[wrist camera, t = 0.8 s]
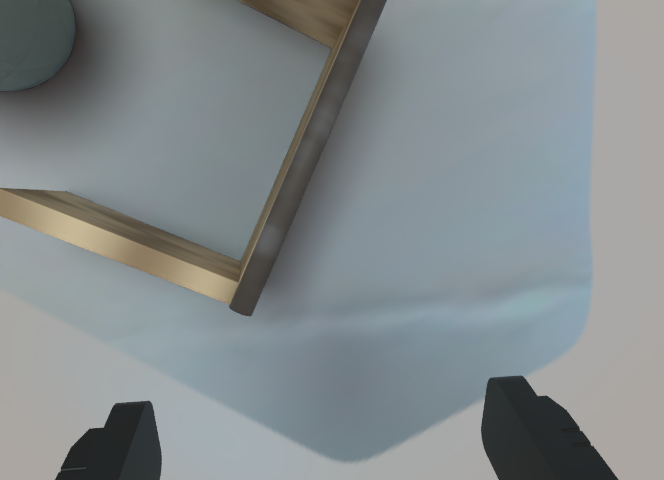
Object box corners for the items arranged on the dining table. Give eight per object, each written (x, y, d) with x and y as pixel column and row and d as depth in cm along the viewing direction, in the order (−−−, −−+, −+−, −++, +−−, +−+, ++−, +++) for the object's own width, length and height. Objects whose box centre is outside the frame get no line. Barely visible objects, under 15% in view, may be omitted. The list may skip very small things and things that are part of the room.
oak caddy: (58, 208, 32) (-26, 212, 22) (170, -55, 32) (137, -170, 22) (249, 284, 35) (251, 318, 25) (354, 40, 35) (398, -25, 25)
